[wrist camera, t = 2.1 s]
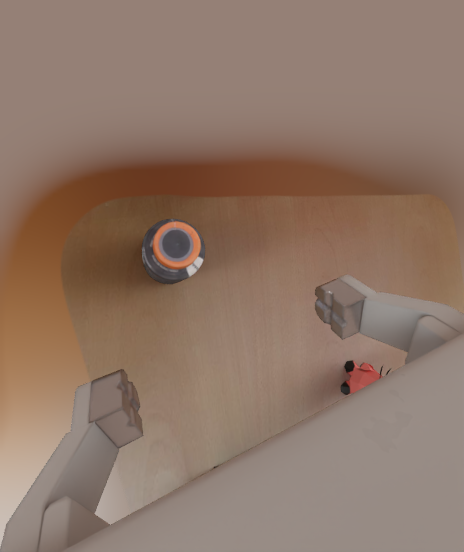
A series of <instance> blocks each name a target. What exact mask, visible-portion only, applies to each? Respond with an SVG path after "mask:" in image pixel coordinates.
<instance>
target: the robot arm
mask: <svg viewBox="0 0 464 552" xmlns="http://www.w3.org/2000/svg"><path fill="white" fill-rule="evenodd" d="M315 295H316V296H317V297H318V298H317V300H316V302H315V310H316V312H317V315H318V316H319V318H320V319H321V320H322V321H323V322H324V323H327V324H330V325H331V330H332V331H333V332H335V333H336V334H337V335H338V336H339V337H340V338H341V339H342V340H343V339H345V338H347V337H350V336H352V335H354V334H356V333H358V332H360V333H361V334H363V335H366V336H368V337H371V338H373V339H376V340H378V341H381V342H383V343H386V344H388V345H391V346H394V347H396V348H399V349H401V350H404V351H406V352H408V354H407V357H406V360H405V365H404V366H402V367H400V368H399V369H397V370H395V371H393V372H391V373H389V374H387V375H386V376H384V377H382V378H380V379H378V380H376V381H375V382H373V383H371V384H369V385H367V386H365V387H364V388H362V389H360V390H358V391H356V392H354V393H352V394H351V395H349V396H347V397H345V398H343V399H341V400H340V401H338V402H336V403H334V404H332V405H330V406H328V407H327V408H325V409H323V410H321V411H319V412H317V413H316V414H314V415H312V416H310V417H308V418H306V419H305V420H303V421H301V422H299V423H297V424H295V425H293V426H292V427H290V428H288V429H286V430H284V431H282V432H281V433H279V434H277V435H275V436H273V437H271V438H270V439H268V440H266V441H264V442H262V443H260V444H259V445H257V446H255V447H253V448H251V449H249V450H248V451H246V452H244V453H242V454H240V455H238V456H236V457H235V458H233V459H231V460H229V461H227V462H225V463H224V464H222V465H220V466H218V467H216V468H214V469H213V470H211V471H209V472H207V473H205V474H203V475H202V476H200V477H198V478H196V479H194V480H192V481H190V482H189V483H187V484H185V485H183V486H181V487H179V488H178V489H176V490H174V491H172V492H170V493H168V494H167V495H165V496H163V497H161V498H159V499H157V500H156V501H154V502H152V503H150V504H148V505H146V506H144V507H143V508H141V509H139V510H137V511H135V512H133V513H132V514H130V515H128V516H126V517H124V518H122V519H121V520H119V521H117V522H115V523H113V524H111V525H109V524H108V523H107V522H105V521H104V520H102V519H101V518H99V517H98V516H96V515H95V514H94V513H95V511H96V508H97V506H98V503H99V501H100V498H101V495H102V493H103V490H104V488H105V485H106V483H107V480H108V478H109V475H110V472H111V470H112V467H113V465H114V462H115V460H116V457H117V454H118V452H119V448H121V447H123V446H125V445H127V444H128V443H130V442H132V441H134V440H136V439H138V438H140V437H142V436H143V428H142V419H141V417H140V415H139V414H138V410H139V408H140V402H139V397H138V394H137V391H136V388H135V386H134V385H133V383H132V382H129V381H128V377H127V374H126V372H125V371H124V370H123V369H121V370H118V371H116V372H113V373H111V374H108V375H105V376H103V377H100V378H98V379H95V380H93V381H91V382H89V383H86V384H83V385H81V386H78V388H77V389H76V392H75V399H74V408H73V416H72V424H71V432H69V433H67V434H66V435H65V436H64V438H63V439H62V441H61V442H60V444H59V445H58V447H57V448H56V450H55V451H54V453H53V454H52V456H51V457H50V459H49V460H48V462H47V463H46V465H45V466H44V468H43V469H42V471H41V473H40V474H39V476H38V477H37V479H36V480H35V482H34V483H33V485H32V486H31V488H30V489H29V491H28V492H27V494H26V495H25V497H24V498H23V500H22V501H21V503H20V504H19V506H18V508H17V509H16V511H15V512H14V514H13V515H12V517H11V518H10V520H9V521H8V523H7V524H6V528H5V532H4V536H3V540H2V544H1V548H0V552H464V314H463V313H461V312H459V311H458V310H456V309H454V308H452V307H450V306H448V305H447V304H441V303H436V302H431V301H426V300H421V299H416V298H411V297H405V296H400V295H395V294H390V293H385V292H379V293H377V292H375V291H374V290H372V289H371V288H369V287H368V286H366V285H365V284H363V283H362V282H360V281H358V280H357V279H355V278H354V277H352V276H351V275H347V274H346V275H344V276H341V277H339V278H337V279H334V280H332V281H330V282H327V283H325V284H323V285H321V286H318V287H316V289H315Z"/></svg>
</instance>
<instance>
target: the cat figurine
mask: <svg viewBox="0 0 464 552" xmlns="http://www.w3.org/2000/svg"><path fill="white" fill-rule="evenodd" d="M344 367H345V369H346V372H347V373H348V374H350V375H352V376H351V378H350V381H345V382H344V383H343V384H342V386H341V392H342V393H344V394H346V395H348V394H350V393H354V392H356V391H358V390H360V389H362V388H364V387H365V386H367V385H369V384H371V383H373V382H375V381H376V380H378V379H380V378H382V376H381V371H382V368H381V371H380V374H379V373H378V372H376V371H375V370H374V369H373V366H371V365H369V364H367V363H363V364H362V365H361V366H360V368H359V367H358V365H357V364H356V363H355V362H354V361H347V362H346V364H345V366H344ZM382 367H383V366H382ZM389 371H390V370H389ZM389 371H388V372H389ZM388 372H387V374H388ZM387 374H386V375H387Z"/></svg>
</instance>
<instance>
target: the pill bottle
mask: <svg viewBox="0 0 464 552" xmlns="http://www.w3.org/2000/svg"><path fill="white" fill-rule="evenodd" d="M204 256H205V246H204V241H203V239H202V237H201V235H200V233H199V232H198V231H197V229H196V228H194V227H193V226H192V225H191V224H189V223H187V222H185V221H182V220H178V219H167V220H162V221H160V222H158V223H156V224H155V225H153V226H152V227H151V228H150V229H149V230H148V232H147V233H146V235H145V237H144V239H143V243H142V258H143V263H144V267H145V270H146V271H147V273H148V274H149V275H150V277H151V278H153V279H154V280H156V281H158V282H160V283H164V284H174V283H177V282H180V281H182V280H184V279H187V278H188V277H190V276H192V275H193V274H194V273H195V272H196V271H197V270H198V269H199V268H200V266H201V265H202V262H203V260H204Z"/></svg>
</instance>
